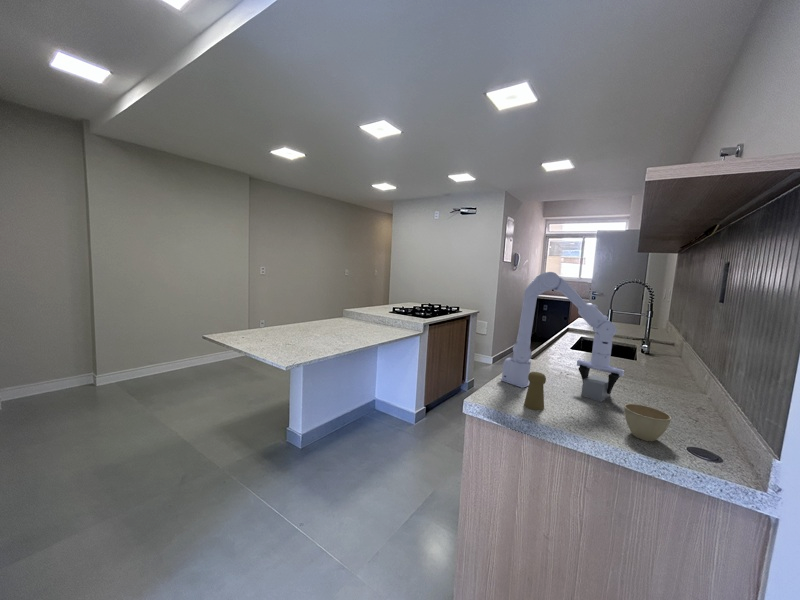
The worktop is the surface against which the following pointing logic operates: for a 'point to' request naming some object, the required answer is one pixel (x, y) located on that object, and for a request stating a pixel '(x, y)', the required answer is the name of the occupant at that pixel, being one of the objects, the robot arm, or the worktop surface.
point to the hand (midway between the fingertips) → (596, 389)
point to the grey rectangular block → (595, 388)
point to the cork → (535, 391)
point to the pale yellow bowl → (646, 421)
